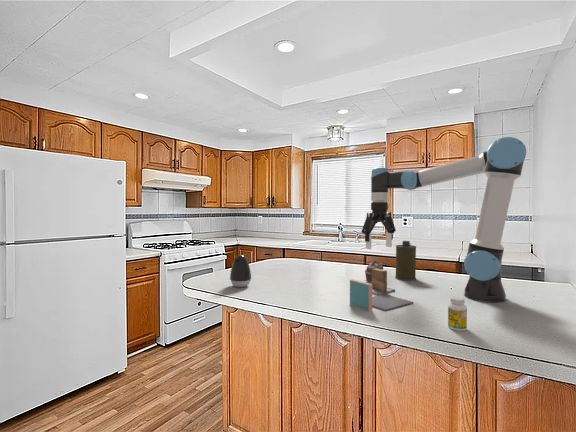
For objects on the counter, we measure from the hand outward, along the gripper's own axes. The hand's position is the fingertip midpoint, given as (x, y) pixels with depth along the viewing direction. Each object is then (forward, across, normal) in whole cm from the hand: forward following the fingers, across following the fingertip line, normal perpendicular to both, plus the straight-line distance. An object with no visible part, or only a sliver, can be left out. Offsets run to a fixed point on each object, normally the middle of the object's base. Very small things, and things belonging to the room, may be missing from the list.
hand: (378, 247), depth 153 cm
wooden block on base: (+20, +2, +2) cm, 20 cm away
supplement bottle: (+20, +16, +47) cm, 53 cm away
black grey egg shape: (+20, +51, -40) cm, 68 cm away
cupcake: (+20, -13, -14) cm, 27 cm away
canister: (+20, -31, -9) cm, 38 cm away
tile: (+20, +26, +15) cm, 36 cm away
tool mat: (+19, +14, +16) cm, 28 cm away
